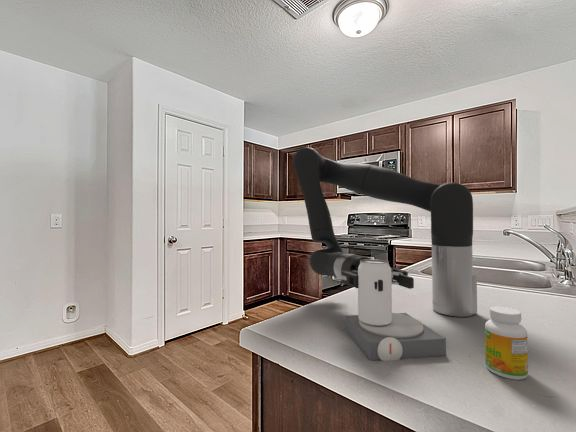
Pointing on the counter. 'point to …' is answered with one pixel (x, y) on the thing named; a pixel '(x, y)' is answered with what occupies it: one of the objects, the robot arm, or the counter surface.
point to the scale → (396, 338)
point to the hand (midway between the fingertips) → (396, 284)
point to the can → (374, 293)
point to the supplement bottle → (506, 344)
